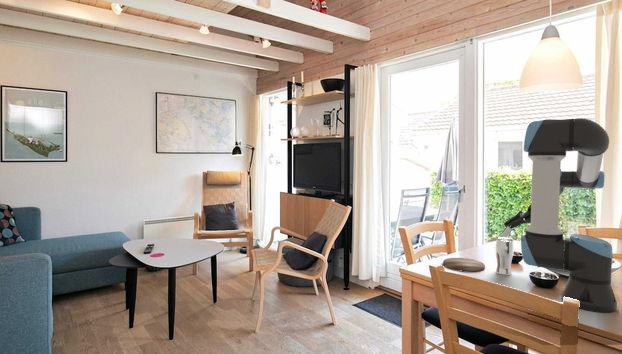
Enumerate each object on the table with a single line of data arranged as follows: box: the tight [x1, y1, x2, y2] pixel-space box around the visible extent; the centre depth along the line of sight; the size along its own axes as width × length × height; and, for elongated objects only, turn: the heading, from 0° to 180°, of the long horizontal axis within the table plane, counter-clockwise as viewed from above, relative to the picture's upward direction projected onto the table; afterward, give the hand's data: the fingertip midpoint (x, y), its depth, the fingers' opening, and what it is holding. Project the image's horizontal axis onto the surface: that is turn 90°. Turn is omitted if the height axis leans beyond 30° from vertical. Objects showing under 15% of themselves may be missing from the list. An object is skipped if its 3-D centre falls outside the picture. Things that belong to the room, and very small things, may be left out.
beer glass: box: [495, 237, 515, 276], centre depth 160 cm, size 7×7×15 cm
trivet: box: [442, 257, 486, 273], centre depth 171 cm, size 18×18×1 cm
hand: (514, 242), depth 162 cm, fingers open, 13 cm apart
